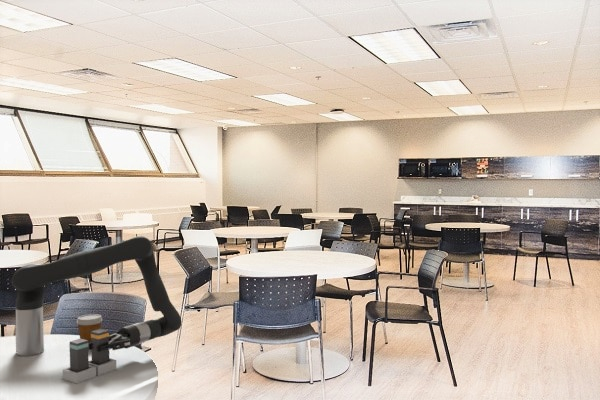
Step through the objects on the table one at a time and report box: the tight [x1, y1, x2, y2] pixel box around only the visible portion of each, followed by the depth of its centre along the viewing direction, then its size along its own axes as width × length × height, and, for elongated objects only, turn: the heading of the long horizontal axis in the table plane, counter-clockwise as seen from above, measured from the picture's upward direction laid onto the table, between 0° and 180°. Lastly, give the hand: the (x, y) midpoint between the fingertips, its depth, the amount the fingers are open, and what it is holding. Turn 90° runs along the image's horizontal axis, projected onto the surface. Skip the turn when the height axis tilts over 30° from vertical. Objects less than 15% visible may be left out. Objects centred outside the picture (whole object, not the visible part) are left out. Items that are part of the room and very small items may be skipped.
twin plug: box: [68, 338, 90, 373], centre depth 173 cm, size 4×4×12 cm
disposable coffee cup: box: [76, 313, 103, 351], centre depth 208 cm, size 10×10×12 cm
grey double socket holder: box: [61, 357, 118, 385], centre depth 177 cm, size 8×16×4 cm, turn 147°
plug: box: [90, 328, 110, 365], centre depth 180 cm, size 4×4×12 cm
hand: (93, 347), depth 177 cm, fingers closed on plug, 4 cm apart
